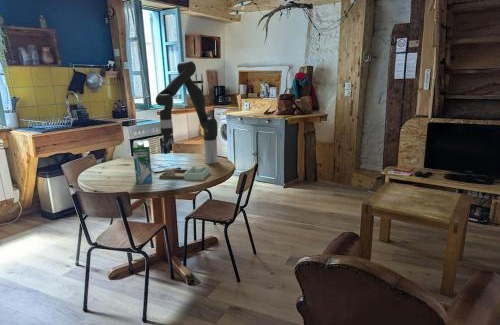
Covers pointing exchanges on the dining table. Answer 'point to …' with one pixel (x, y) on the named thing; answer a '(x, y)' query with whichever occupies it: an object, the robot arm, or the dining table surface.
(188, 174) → the bin
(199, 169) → the stone
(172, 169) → the stone
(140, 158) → the milk carton
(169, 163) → the dining table surface
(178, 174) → the tray
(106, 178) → the dining table surface
